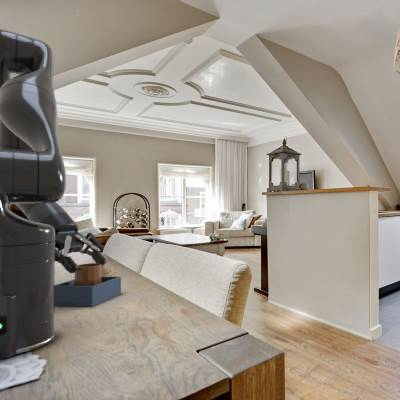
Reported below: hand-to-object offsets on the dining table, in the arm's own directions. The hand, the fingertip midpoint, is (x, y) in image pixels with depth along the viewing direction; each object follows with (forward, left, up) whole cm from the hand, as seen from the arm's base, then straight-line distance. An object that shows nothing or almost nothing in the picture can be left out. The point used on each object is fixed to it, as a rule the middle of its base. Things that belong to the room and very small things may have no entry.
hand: (90, 267), depth 78 cm
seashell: (+20, +12, -8) cm, 25 cm away
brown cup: (0, +1, -7) cm, 7 cm away
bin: (0, 0, -8) cm, 8 cm away
